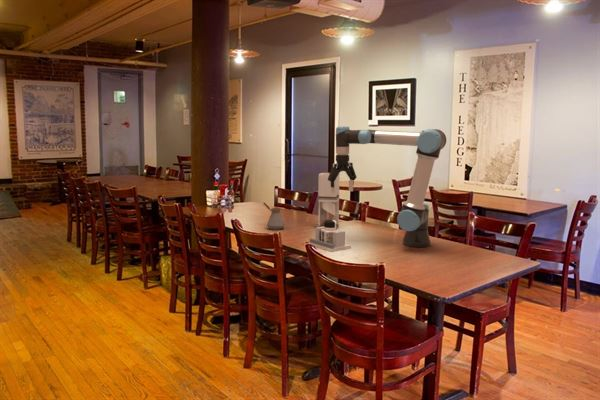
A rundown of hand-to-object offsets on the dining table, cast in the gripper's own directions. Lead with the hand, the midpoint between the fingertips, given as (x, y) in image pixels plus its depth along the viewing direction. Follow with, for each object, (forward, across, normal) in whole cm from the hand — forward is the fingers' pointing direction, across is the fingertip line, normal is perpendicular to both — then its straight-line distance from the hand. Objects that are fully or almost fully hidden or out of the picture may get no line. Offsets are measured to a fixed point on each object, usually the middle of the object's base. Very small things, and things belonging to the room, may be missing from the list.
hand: (342, 192), depth 295 cm
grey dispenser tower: (+28, -19, -32) cm, 47 cm away
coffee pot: (+28, +8, -56) cm, 63 cm away
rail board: (+28, +14, +5) cm, 32 cm away
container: (+27, +14, +5) cm, 31 cm away
